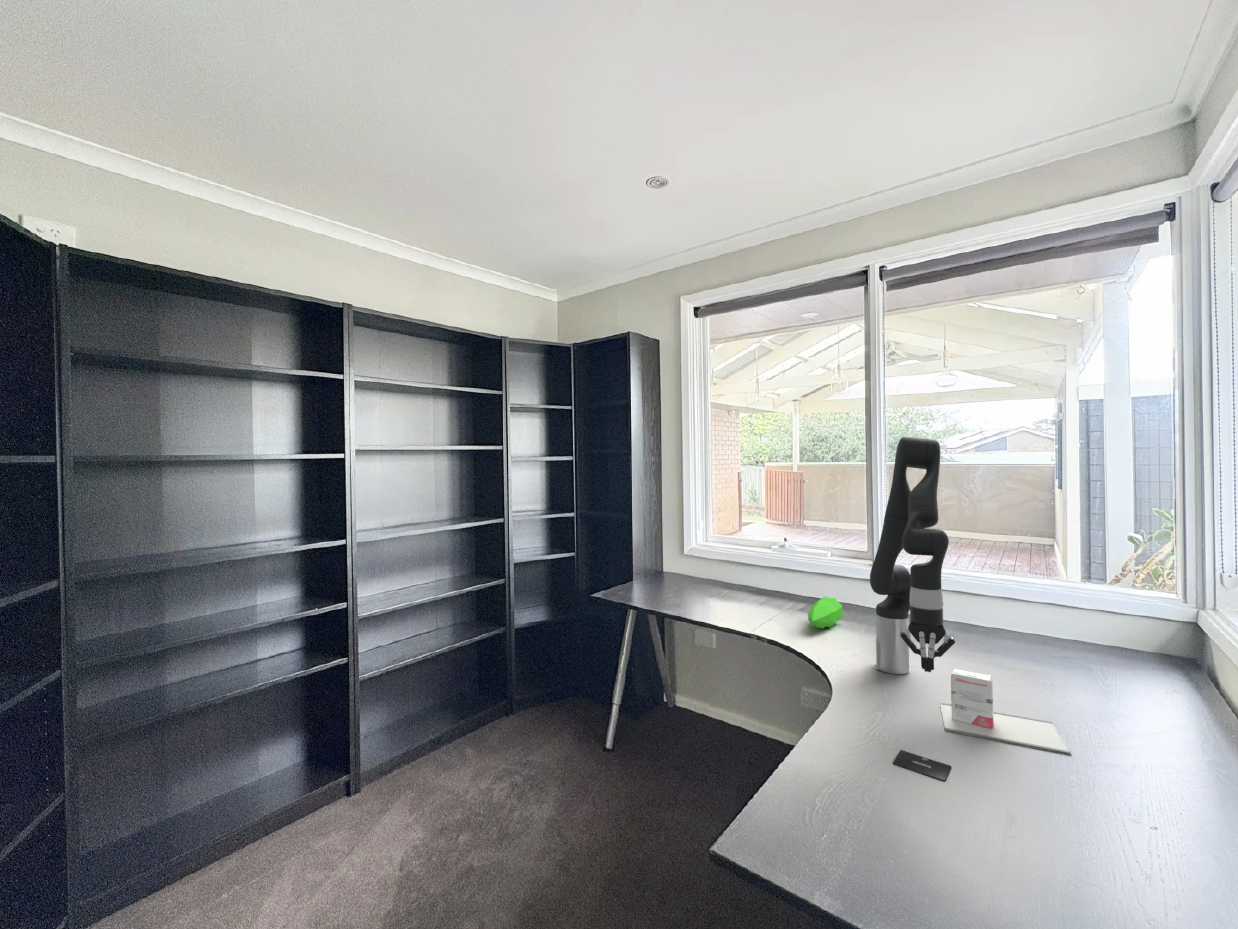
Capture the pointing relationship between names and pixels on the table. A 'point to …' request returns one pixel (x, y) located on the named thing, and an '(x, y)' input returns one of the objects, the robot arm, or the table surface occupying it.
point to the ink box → (972, 698)
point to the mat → (1010, 730)
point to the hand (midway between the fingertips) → (927, 670)
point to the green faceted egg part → (825, 612)
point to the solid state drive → (922, 765)
